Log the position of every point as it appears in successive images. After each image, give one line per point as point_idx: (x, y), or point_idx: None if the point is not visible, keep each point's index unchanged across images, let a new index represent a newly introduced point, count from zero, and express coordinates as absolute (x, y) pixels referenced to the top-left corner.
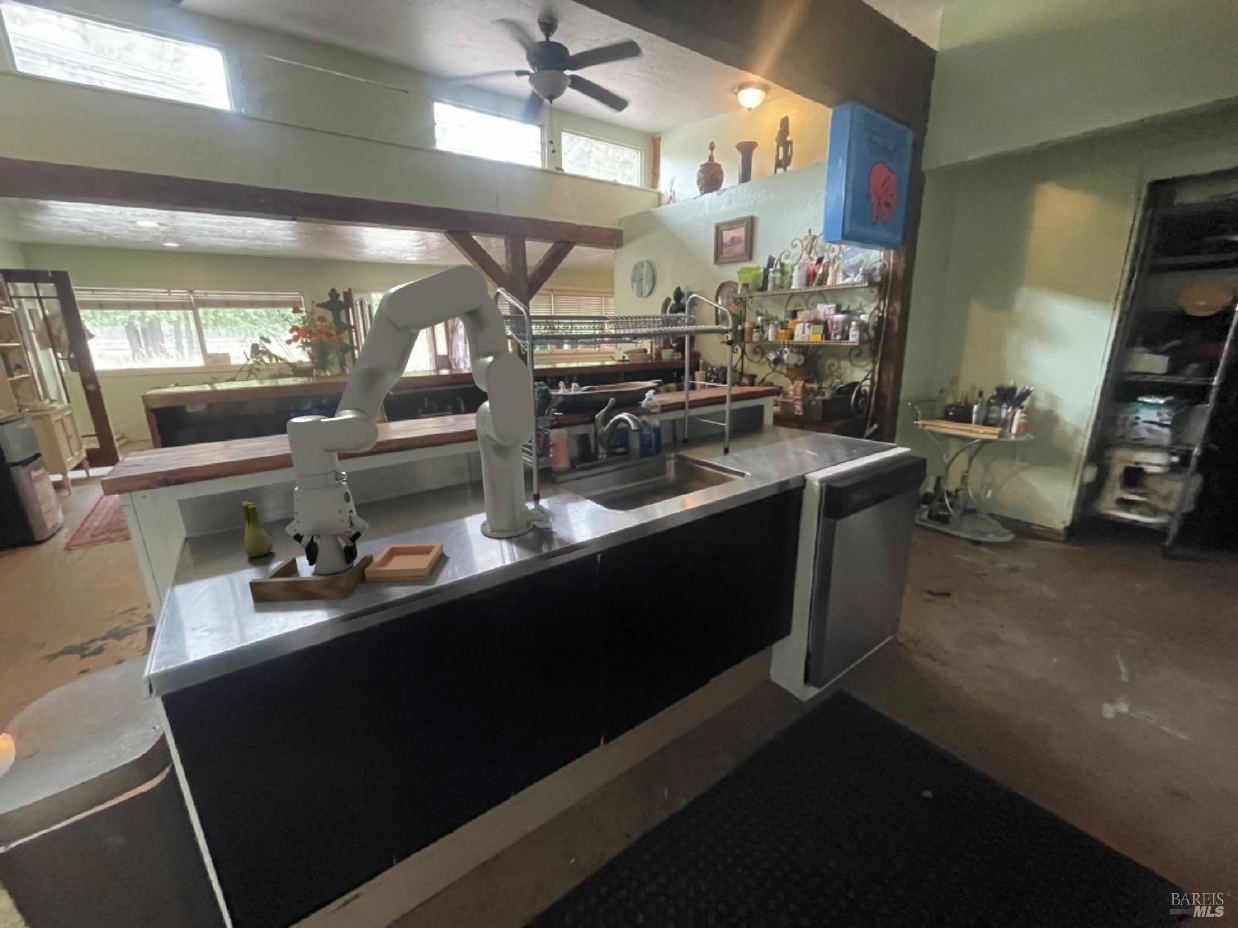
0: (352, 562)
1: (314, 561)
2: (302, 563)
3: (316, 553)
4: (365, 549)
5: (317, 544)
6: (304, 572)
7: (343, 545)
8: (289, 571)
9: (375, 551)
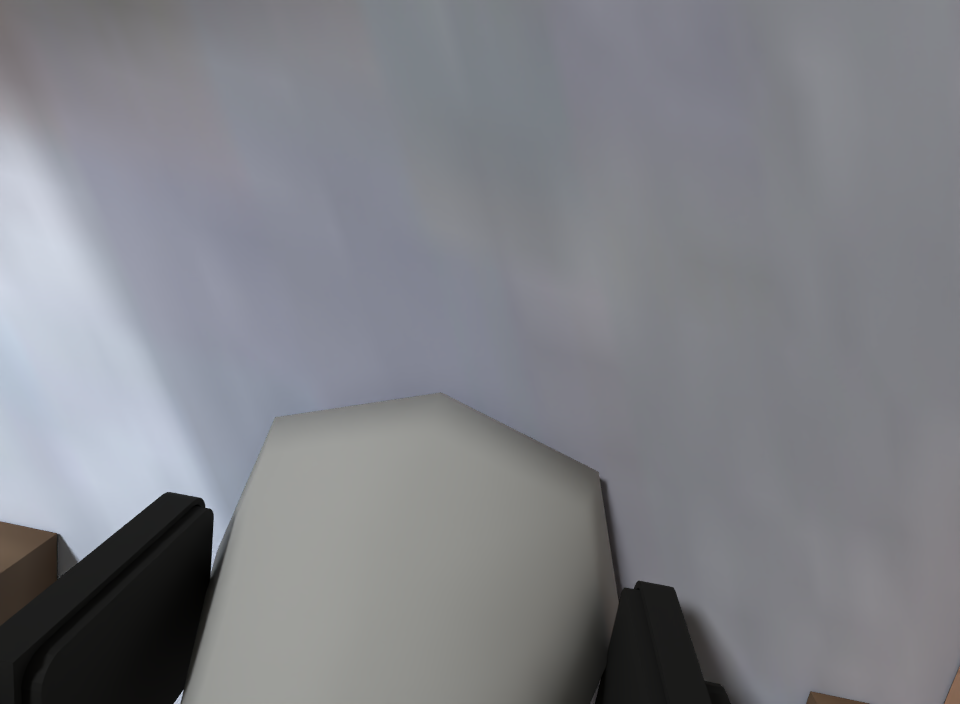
0: (611, 565)
1: (191, 647)
2: (17, 369)
3: (147, 626)
4: (686, 115)
5: (67, 654)
6: None
7: (520, 683)
8: None
9: (846, 233)
